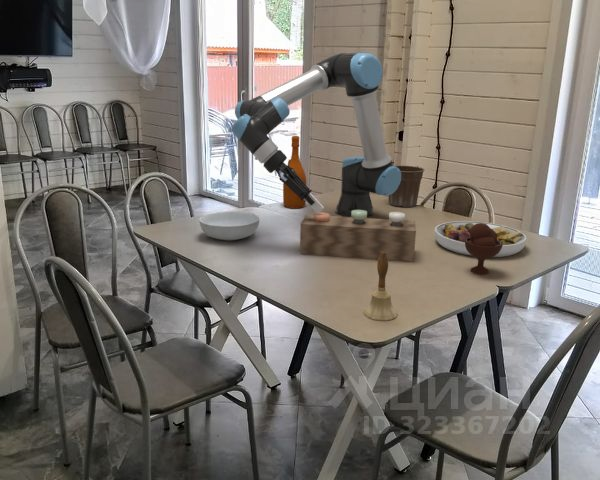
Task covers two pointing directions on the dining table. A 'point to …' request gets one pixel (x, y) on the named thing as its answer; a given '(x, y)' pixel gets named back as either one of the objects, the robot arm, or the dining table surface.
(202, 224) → the serving bowl
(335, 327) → the dining table surface
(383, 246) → the console
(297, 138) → the wine bottle
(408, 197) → the plant pot
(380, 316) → the hand bell
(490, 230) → the ice cream bowl
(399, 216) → the cream button
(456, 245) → the bowl
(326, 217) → the terracotta button
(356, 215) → the sage button
